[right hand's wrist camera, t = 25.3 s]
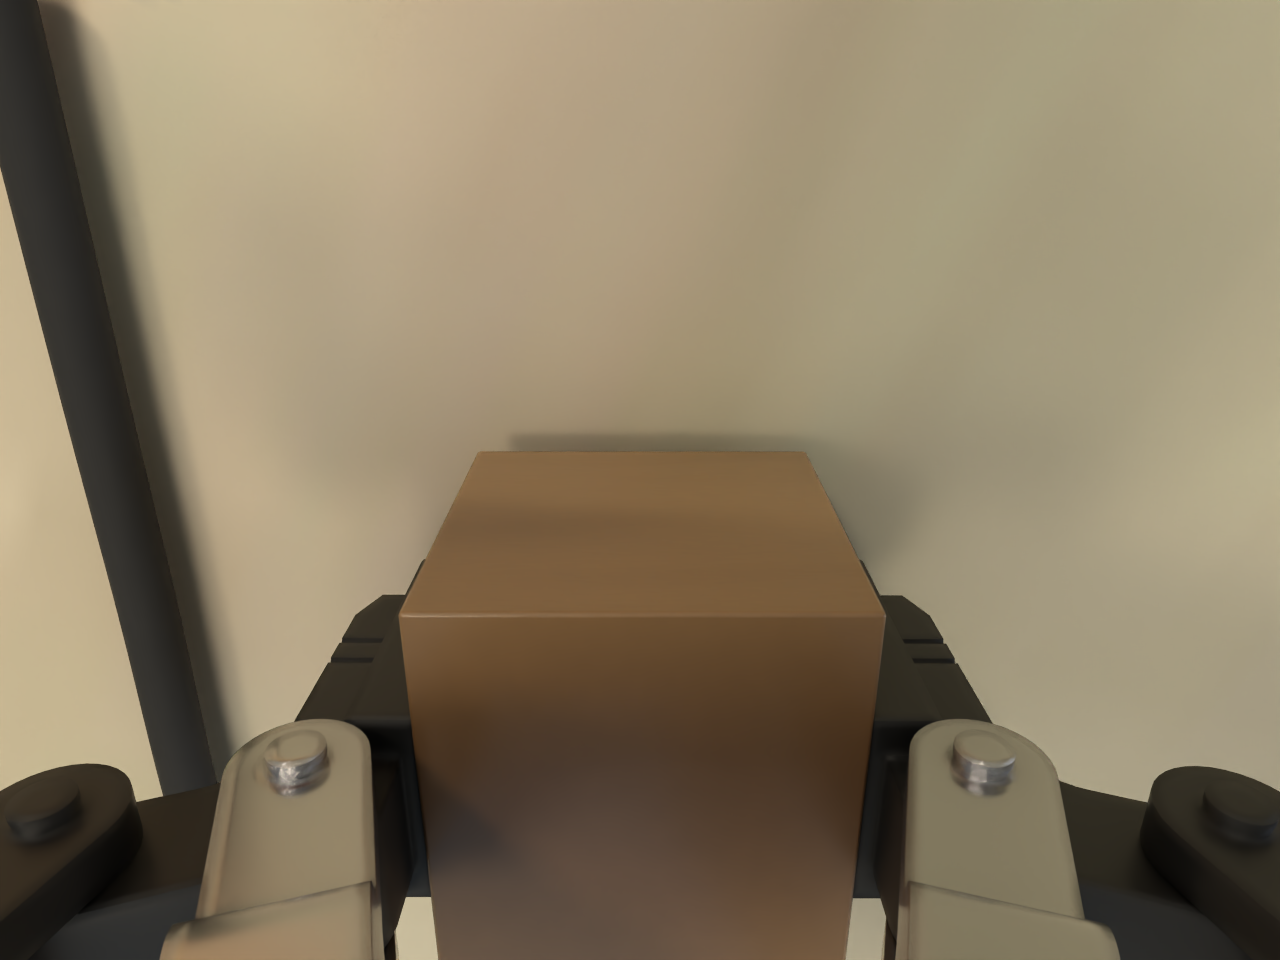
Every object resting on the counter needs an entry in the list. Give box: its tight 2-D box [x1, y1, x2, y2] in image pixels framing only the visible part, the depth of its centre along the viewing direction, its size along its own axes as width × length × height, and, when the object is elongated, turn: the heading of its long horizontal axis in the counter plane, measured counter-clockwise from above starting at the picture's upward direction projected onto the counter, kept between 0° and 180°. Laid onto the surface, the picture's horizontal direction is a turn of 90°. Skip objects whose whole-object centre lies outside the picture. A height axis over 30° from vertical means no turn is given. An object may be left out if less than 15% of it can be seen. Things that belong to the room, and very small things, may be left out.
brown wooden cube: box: [398, 452, 886, 960], centre depth 11 cm, size 4×4×4 cm
